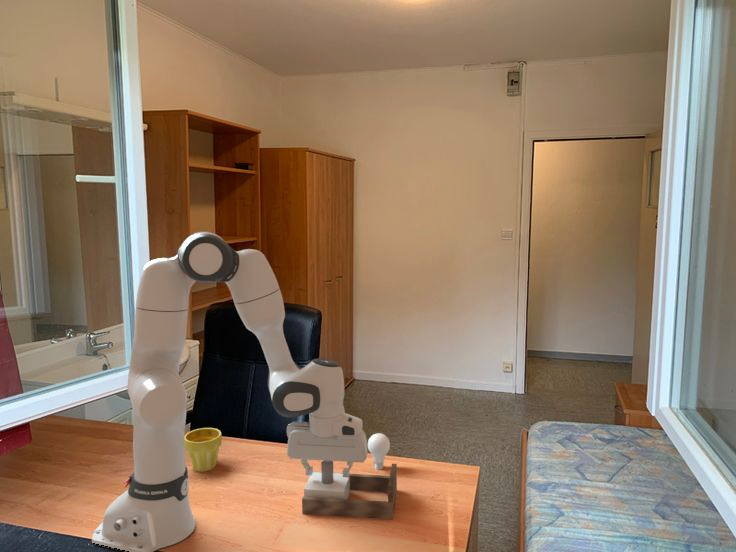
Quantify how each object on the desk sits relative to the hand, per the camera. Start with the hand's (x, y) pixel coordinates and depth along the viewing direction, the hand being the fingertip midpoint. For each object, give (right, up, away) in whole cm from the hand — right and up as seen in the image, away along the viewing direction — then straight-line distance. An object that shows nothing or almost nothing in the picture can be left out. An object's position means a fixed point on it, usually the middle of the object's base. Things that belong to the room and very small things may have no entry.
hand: (327, 475), depth 139 cm
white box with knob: (0, -7, +1) cm, 7 cm away
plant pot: (-38, -5, +22) cm, 44 cm away
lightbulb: (+13, -6, +18) cm, 23 cm away
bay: (+6, -8, 0) cm, 10 cm away
